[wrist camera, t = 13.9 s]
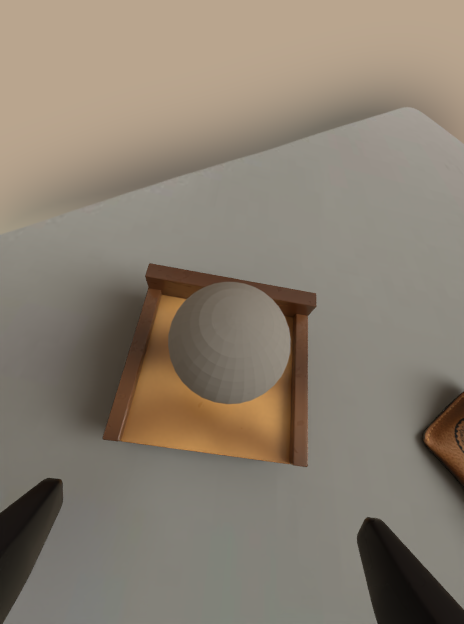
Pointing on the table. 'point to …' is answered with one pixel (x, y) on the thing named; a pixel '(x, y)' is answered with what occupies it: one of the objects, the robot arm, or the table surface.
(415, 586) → the robot arm
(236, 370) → the light bulb
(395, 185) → the table surface
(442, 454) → the sunglasses case
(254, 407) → the brown wooden tray
